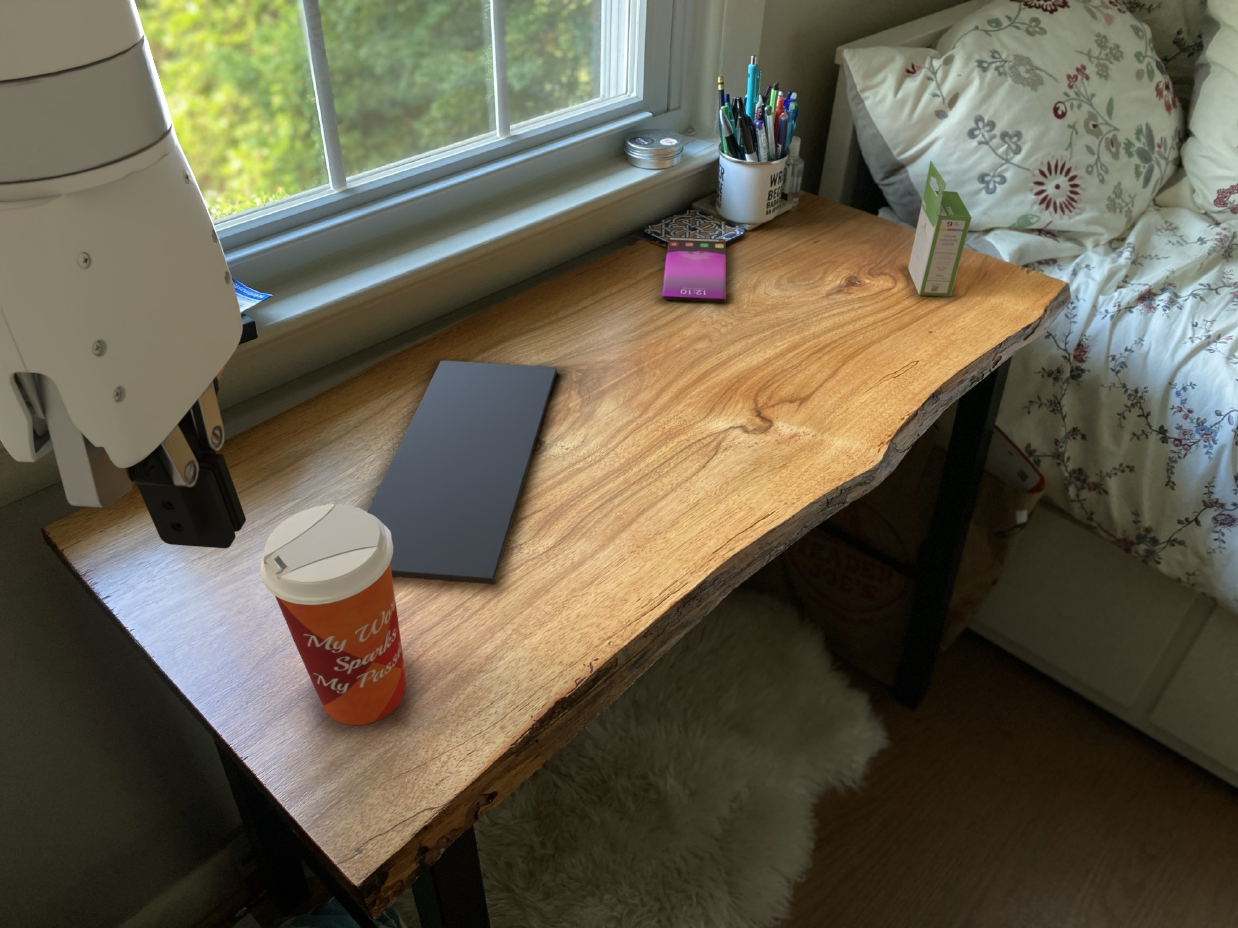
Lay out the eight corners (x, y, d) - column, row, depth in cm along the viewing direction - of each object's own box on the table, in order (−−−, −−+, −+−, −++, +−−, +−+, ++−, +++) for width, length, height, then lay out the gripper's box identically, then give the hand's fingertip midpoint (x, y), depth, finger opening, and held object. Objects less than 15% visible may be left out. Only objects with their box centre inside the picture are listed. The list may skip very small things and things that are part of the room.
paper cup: (340, 760, 59) (291, 609, 50) (286, 687, 64) (232, 536, 55) (445, 694, 63) (416, 543, 54) (387, 629, 68) (352, 480, 59)
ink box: (953, 298, 106) (981, 184, 98) (917, 297, 107) (942, 183, 98) (940, 270, 112) (965, 160, 104) (906, 269, 112) (929, 159, 104)
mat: (493, 584, 71) (492, 578, 71) (341, 572, 72) (340, 566, 72) (556, 371, 95) (556, 366, 94) (441, 365, 96) (440, 360, 95)
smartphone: (725, 245, 117) (726, 238, 116) (725, 303, 105) (726, 296, 105) (668, 243, 118) (668, 236, 117) (661, 300, 106) (661, 293, 105)
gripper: (61, 44, 36) (202, 428, 47) (-269, 204, 24) (24, 661, 36) (249, 48, 35) (345, 437, 46) (1, 214, 23) (210, 677, 35)
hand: (205, 533), depth 41 cm, fingers closed
